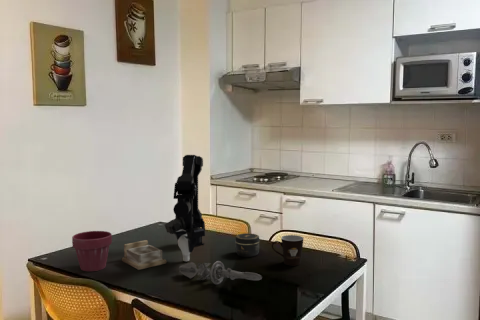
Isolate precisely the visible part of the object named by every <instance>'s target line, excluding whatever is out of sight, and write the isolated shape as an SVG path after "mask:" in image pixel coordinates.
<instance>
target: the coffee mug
mask: <svg viewBox="0 0 480 320" xmlns="http://www.w3.org/2000/svg"><path fill="white" fill-rule="evenodd" d="M277 243H278V244H279V245H280V246H281V248H282V249H281V250H282V253H281V252H279V251H277V250H276V248H274V244H277ZM303 245H304V237H303V236H302V235H295V234H290V235H289V234H288V235H287V234H286V235H282V236H281V241H279V240H275V241H273V242H272V244H271V248H272V250H273V251H274V252H275V253H276V254H278V255H279V256H281V257H282V258H283V264H284V265H286V266H291V267H292V266H299V265H301V261H302V255H303Z"/></svg>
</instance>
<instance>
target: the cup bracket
mask: <svg viewBox="0 0 480 320" xmlns="http://www.w3.org/2000/svg"><path fill="white" fill-rule="evenodd" d="M123 253H124V254H123V256H124V257H122V258H121V261H122V262H123V263H125V264H127V265H129V266H131V267H133V268H135V269H137V270H138V271H140V270H144V269H147V268H151V267H152V268H153V267H156V266H161V265H164V264H167V260H166V259H165V258H163V250H162V249H160V248H158V247H156V246H153V245H151V244H149V241H148V240H147V239H145V240H140V241H139V240H138V241H135V242H130V243H125V244H123Z"/></svg>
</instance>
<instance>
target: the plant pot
mask: <svg viewBox="0 0 480 320" xmlns="http://www.w3.org/2000/svg"><path fill="white" fill-rule="evenodd" d="M112 236H113V235H112V233H111V232H109V231H104V230H92V231H91V230H89V231H83V232H79V233H76V234H74V235H73V236H72V238H71V240H72V241H71V242H72V243H71V244H72V248H73V249H75V252H76V254H75V255H76V256H77V260H78V264H79V268H80V270H81V271H83V272H98V271H102V270H103V269H105V268H106V266H107V261H108V256H109V250H110V246H111V245H112V243H113V237H112Z"/></svg>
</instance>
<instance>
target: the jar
mask: <svg viewBox="0 0 480 320" xmlns="http://www.w3.org/2000/svg"><path fill="white" fill-rule="evenodd" d="M234 240H235V241H234V242H235V253H236V254H237V256H239V257H242V258H253V257H256V256H257V255H258V254H260V253H259V252H260V236H259V235H258V234H257V233H256V234H255V233H248V232H247V233H245V232H244V233H239V234H237V235H235V239H234Z"/></svg>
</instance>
